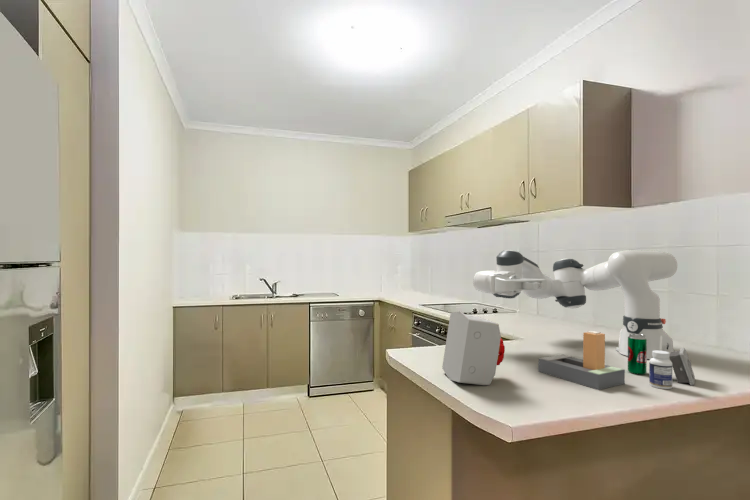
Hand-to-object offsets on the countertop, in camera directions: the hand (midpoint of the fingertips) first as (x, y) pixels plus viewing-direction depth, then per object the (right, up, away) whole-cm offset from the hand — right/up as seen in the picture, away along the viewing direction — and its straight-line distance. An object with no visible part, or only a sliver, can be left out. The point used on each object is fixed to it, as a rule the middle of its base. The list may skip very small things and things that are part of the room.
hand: (539, 286), depth 139 cm
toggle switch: (+6, -26, -14) cm, 30 cm away
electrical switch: (+36, -27, -16) cm, 48 cm away
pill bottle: (+26, -27, -22) cm, 43 cm away
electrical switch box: (-25, -26, -16) cm, 40 cm away
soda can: (+27, -27, -8) cm, 39 cm away
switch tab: (+9, -25, -18) cm, 32 cm away
